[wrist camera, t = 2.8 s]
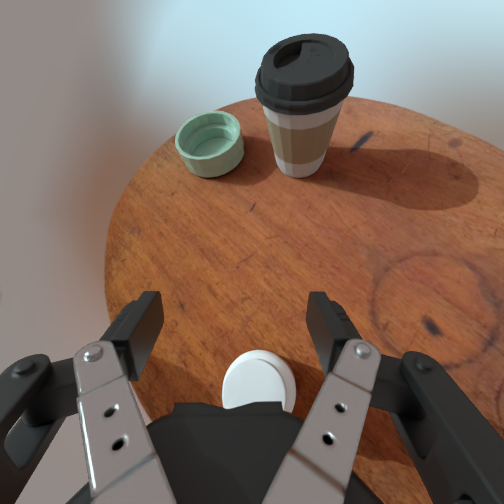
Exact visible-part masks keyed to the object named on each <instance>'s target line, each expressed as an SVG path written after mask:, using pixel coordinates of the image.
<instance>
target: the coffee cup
mask: <svg viewBox="0 0 504 504" xmlns="http://www.w3.org/2000/svg"><path fill="white" fill-rule="evenodd" d="M353 80H354V65H353V63H352V61H351V59H350V58H349V52H348V50H347V48H346V46H345V44H343V43H342V42H341V41H339V40H338V39H337V38H334V37H331V36H328V35H324V34H315V33H313V34H301V35H297V36H293V37H289V38H287V39H285V40H282V41H280V42H278V43H277V44H276V45H274V46H273V47H271V48H270V49H269V50H268V52H267V53H266V54H265V55H264V57H263V60H262V63H261V67H260V68H259V69H258V72H257V75H256V79H255V83H256V86H255V92H256V97H257V99H258V100H259V101H260V102H261V104H262V105H263V108H264V112H265V117H266V121H267V125H268V129H269V133H270V138H271V142H272V146H273V150H274V154H275V158H276V163H277V165H278V166H279V169H280V170H281V172H282V173H284V174H285V175H287V176H290V177H293V178H303V177H308V176H310V175H312V174H314V173H315V172H316V171H317V170H318V169H319V167H320V165H321V164H322V162H323V160H324V157H325V154H326V151H327V148H328V145H329V142H330V139H331V136H332V133H333V130H334V127H335V124H336V121H337V118H338V115H339V112H340V109H341V107H342V104H343V101H344V99H345V98H346V97H347V96H348V94H349V92H350V90H351V89H352V87H353Z"/></svg>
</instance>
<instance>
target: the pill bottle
mask: <svg viewBox="0 0 504 504" xmlns="http://www.w3.org/2000/svg"><path fill="white" fill-rule="evenodd" d="M295 400H296V384H295V377H294V373H293V371H292V369H291V367H290V365H289V364H288V363H287V361H286V360H285V359H283V358H282V357H281V356H279V355H277V354H275V353H272V352H269V351H265V350H253V351H249V352H246V353H244V354H242V355H241V356H239V357H238V358H237V359H236V360H235V361H234V362H233V363H232V364H231V366H230V367H229V369H228V371H227V373H226V375H225V378H224V383H223V390H222V401H223V407H224V408H225V409H231V408H235V407H238V406H242V405H245V404H249V403H252V402H261V401H282V407H283V410H284V411H287V412H290V413H292V411H293V408H294V405H295Z"/></svg>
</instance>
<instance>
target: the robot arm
mask: <svg viewBox="0 0 504 504" xmlns="http://www.w3.org/2000/svg"><path fill="white" fill-rule="evenodd" d="M163 323H164V313H163V306H162V299H161V294H160V292H159V291H144V292H143V293H142V294H141V296H140V297H139V299H138V300H137V301H132V302H130V303H129V304H127V305H126V306H125V307H124V308H123V309H122V310H121V312H120V313H119V315H118V316H117V317H116V318H115V321H113V322H112V324H111V325H110V327H109V328H108V329H107V331H106V332H105V333H104V335H103V336H102V337H101V339H100V340H99V341H96V342H93V343H90V344H88V345H86V346H84V347H83V348H81V349H80V350H79V351H78V352H77V353H76V354H75V356H74V358H69V359H66V360H61V361H57V362H53V363H51V362H50V359H49V357H48V356H46V355H44V354H36V355H31V356H28V357H25V358H23V359H20V360H18V361H17V362H15V363H14V364H12V365H10V366H9V367H8V368H7V369H6V370H5V371H4V372H3V373H2V374H1V375H0V504H15V502H16V500H17V499H18V497H19V495H20V494H21V492H22V490H23V489H24V487H25V485H26V484H27V482H28V480H29V479H30V477H31V475H32V474H33V472H34V470H35V469H36V467H37V465H38V464H39V462H40V460H41V459H42V457H43V455H44V453H45V452H46V450H47V449H48V447H49V445H50V443H51V442H52V440H53V438H54V437H55V435H56V433H57V432H58V430H59V428H60V427H61V425H62V423H63V422H64V420H65V418H66V417H67V416H70V415H74V414H76V413H79V420H80V426H81V433H82V439H83V445H84V452H85V459H86V466H87V472H88V479H89V481H88V482H87V484H86V485H84V486H83V487H82V488H81V489H80V490H79V491H78V492H77V493H76V494H75V495H74V496H73V497H72V498H71V499H70V500H69V501H68V502H67V503H66V504H384V503H383V502H382V501H381V500H380V499H379V498H378V497H377V496H376V495H375V494H374V492H373V491H372V490H371V489H370V488H369V487H368V486H367V485H366V484H365V483H364V482H363V481H362V480H361V479H360V478H359V476H358V475H357V474H356V473H355V472H354V471H353V470H352V467H353V463H354V459H355V456H356V452H357V448H358V444H359V441H360V437H361V433H362V429H363V426H364V422H365V418H366V414H367V411H368V407H369V406H372V407H375V408H379V409H382V410H385V411H388V412H389V414H390V416H391V418H392V420H393V422H394V424H395V426H396V428H397V430H398V432H399V434H400V436H401V438H402V440H403V442H404V444H405V446H406V449H407V451H408V453H409V455H410V457H411V459H412V461H413V463H414V465H415V467H416V469H417V471H418V473H419V475H420V477H421V479H422V481H423V483H424V485H425V487H426V489H427V491H428V493H429V495H430V497H431V499H432V501H433V504H504V440H503V439H502V438H501V437H500V435H499V434H498V433H497V432H496V431H495V429H494V428H493V427H492V426H491V425H490V423H489V422H488V421H487V420H486V419H485V417H484V416H483V415H482V414H481V413H480V412H479V410H478V409H477V408H476V407H475V406H474V404H473V403H472V402H471V401H470V400H469V398H468V397H467V396H466V395H465V394H464V392H463V391H462V390H461V389H460V388H459V386H458V385H457V384H456V383H455V382H454V380H453V379H452V378H451V377H450V376H449V374H448V373H447V372H446V371H445V370H444V369H443V367H442V366H441V365H440V364H439V363H438V362H437V361H436V360H434V359H433V358H431V357H430V356H428V355H426V354H423V353H420V352H415V351H409V352H406V353H405V354H404V355H403V357H402V359H398V358H394V357H390V356H386V355H382V354H380V352H379V350H378V349H377V348H376V347H375V346H374V345H373V344H371V343H370V342H368V341H365V340H363V339H362V338H361V336H360V335H359V333H358V331H357V330H356V328H355V327H354V325H353V323H352V322H351V320H350V319H349V317H348V315H346V312H345V310H344V309H343V307H342V306H341V305H339V304H338V303H337V302H335V301H330V300H329V298H328V297H327V295H326V293H325V292H310V293H309V298H308V306H307V313H306V323H307V327H308V330H309V333H310V336H311V338H312V341H313V344H314V347H315V350H316V352H317V355H318V358H319V361H320V364H321V366H322V369H323V372H324V375H325V378H326V379H325V381H324V383H323V385H322V387H321V389H320V391H319V393H318V395H317V397H316V399H315V401H314V403H313V405H312V407H311V409H310V412H309V414H308V416H307V418H306V420H305V421H304V420H303V419H302V418H300V417H298V416H296V415H295V414H292V413H290V412H287V411H284V410H283V407H282V401H261V402H252V403H249V404H245V405H242V406H238V407H235V408H231V409H225V408H221V407H217V406H213V405H209V404H205V403H175V405H174V409H173V413H170V414H167V415H164V416H162V417H160V418H158V419H156V420H154V421H153V422H151V423H150V424H149V425H147V426H146V425H145V423H144V420H143V418H142V415H141V413H140V410H139V407H138V405H137V402H136V399H135V397H134V394H133V392H132V389H131V386H130V384H129V381H138V380H139V378H140V375H141V373H142V371H143V369H144V367H145V364H146V362H147V360H148V358H149V356H150V353H151V351H152V349H153V347H154V344H155V342H156V340H157V338H158V336H159V333H160V331H161V329H162V327H163ZM20 416H21V419H20V420H19V421H18V422H17V424H16V425H15V426H14V428H13V429H12V430H11V431H10V433H9V434H8V432H9V430H10V429H11V428H12V426H13V425H14V424H15V423H16V421H17V420H18V419H19V417H20ZM7 434H8V435H7ZM6 436H7V437H6Z"/></svg>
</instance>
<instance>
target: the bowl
mask: <svg viewBox="0 0 504 504" xmlns="http://www.w3.org/2000/svg"><path fill="white" fill-rule="evenodd" d="M175 145H176V149H177V151H178V152H179V154H180V156H181V158H182V160H183V162H184V164H185V165H186V167H187V168H188V170H189V171H190V172H192V173H193V174H195V175H197V176H201V177H217V176H220V175H223V174H226V173H228V172H229V171H231V170H232V169H234V168H235V167H236V166H237V165H238V164H239V163H240V161H241V159H242V157H243V155H244V148H245V146H244V141H243V137H242V132H241V127H240V125H239V122H238V120H237V119H236V118H235V117H234V116H233V115H231V114H229V113H226V112H222V111H209V112H204V113H201V114H198V115H196V116H194V117H192V118H190V119H189V120H187V121H186V122H185V123H184V124H183V125H182V126H181V127H180V129H179V130H178V132H177V134H176V138H175Z"/></svg>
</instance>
